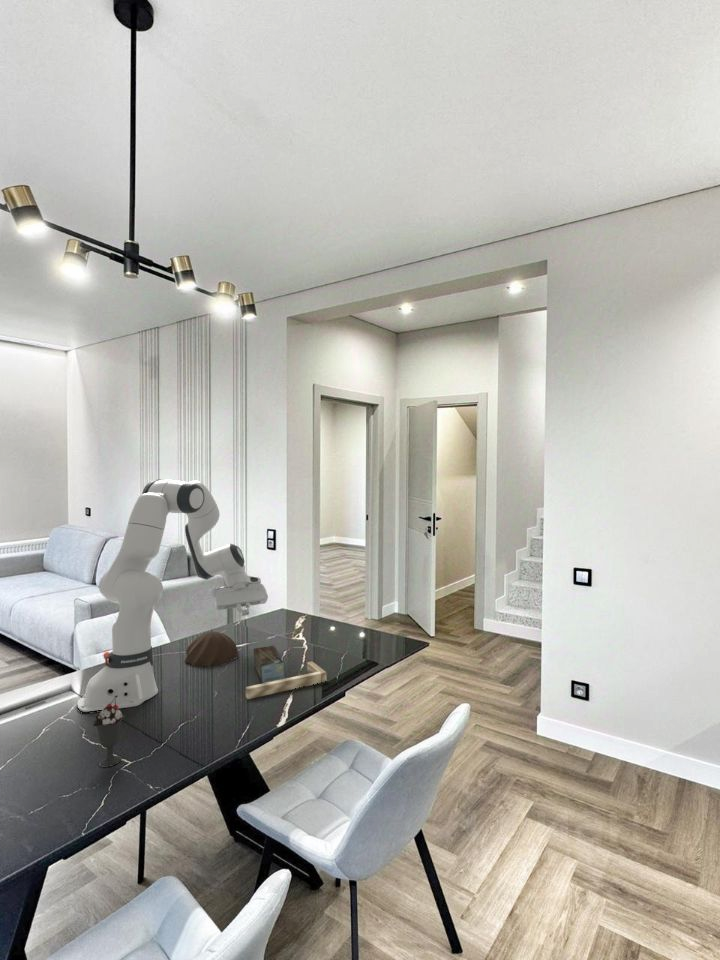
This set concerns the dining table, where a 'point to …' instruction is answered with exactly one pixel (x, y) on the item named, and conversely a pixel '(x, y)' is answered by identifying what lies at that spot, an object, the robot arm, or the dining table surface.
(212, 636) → the decorative dome
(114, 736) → the sundae
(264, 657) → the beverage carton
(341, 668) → the dining table surface
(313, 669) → the oak fence
